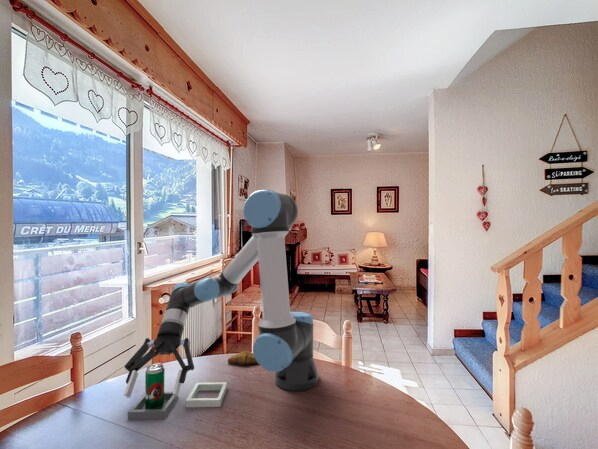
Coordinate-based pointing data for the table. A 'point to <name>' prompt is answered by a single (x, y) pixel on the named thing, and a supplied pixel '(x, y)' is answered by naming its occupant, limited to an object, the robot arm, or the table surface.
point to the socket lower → (206, 402)
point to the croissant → (243, 358)
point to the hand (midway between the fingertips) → (151, 395)
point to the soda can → (154, 386)
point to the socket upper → (152, 413)
